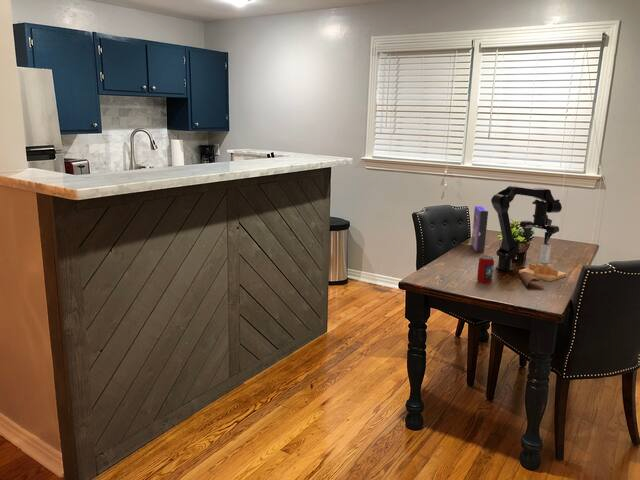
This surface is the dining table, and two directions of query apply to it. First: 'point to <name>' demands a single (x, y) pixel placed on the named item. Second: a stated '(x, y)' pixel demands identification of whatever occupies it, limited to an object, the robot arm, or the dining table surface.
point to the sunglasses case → (531, 281)
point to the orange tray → (543, 271)
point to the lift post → (545, 253)
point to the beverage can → (485, 269)
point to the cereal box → (479, 228)
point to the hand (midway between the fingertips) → (536, 242)
